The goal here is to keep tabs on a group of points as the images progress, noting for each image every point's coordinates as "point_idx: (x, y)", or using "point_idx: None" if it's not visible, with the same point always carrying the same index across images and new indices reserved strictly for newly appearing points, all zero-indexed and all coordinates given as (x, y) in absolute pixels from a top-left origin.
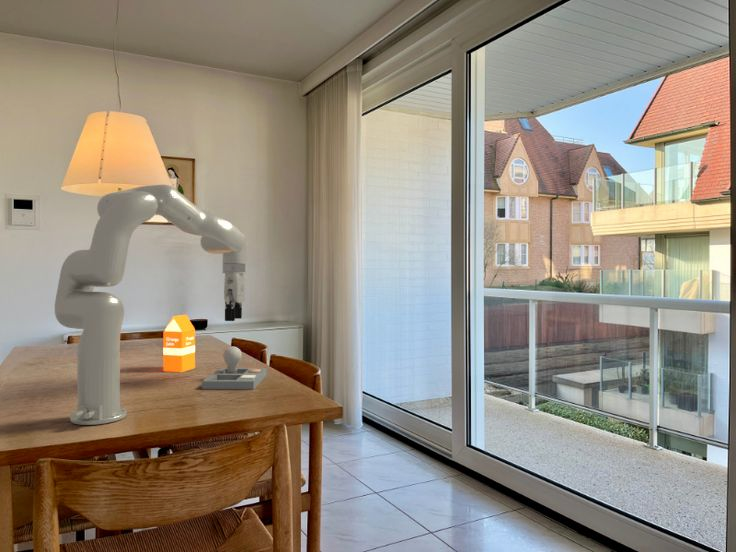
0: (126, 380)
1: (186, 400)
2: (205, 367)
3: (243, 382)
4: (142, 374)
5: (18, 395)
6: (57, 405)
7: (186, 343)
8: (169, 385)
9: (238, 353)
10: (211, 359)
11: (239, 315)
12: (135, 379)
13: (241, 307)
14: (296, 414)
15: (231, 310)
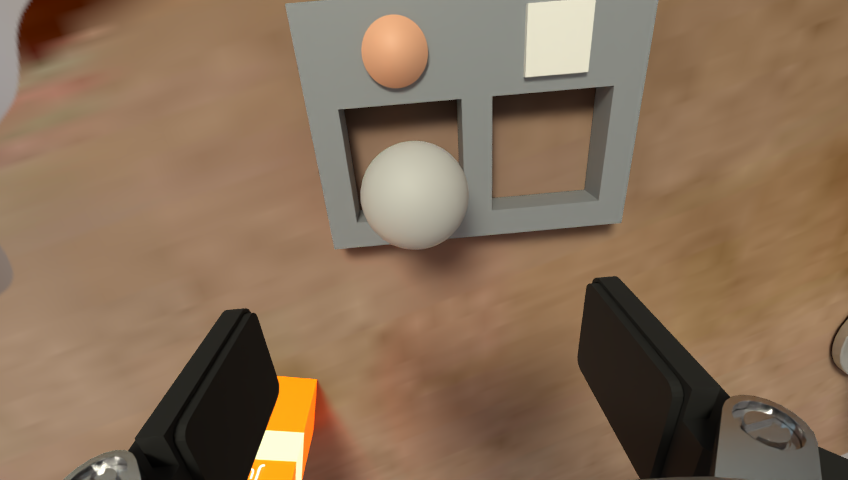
0: (464, 452)
1: (766, 198)
2: None
3: (650, 33)
4: (376, 454)
5: None
6: None
7: (250, 477)
8: (533, 331)
9: (443, 156)
10: (30, 382)
11: (246, 347)
12: (449, 441)
13: (162, 429)
14: None
15: (728, 396)
